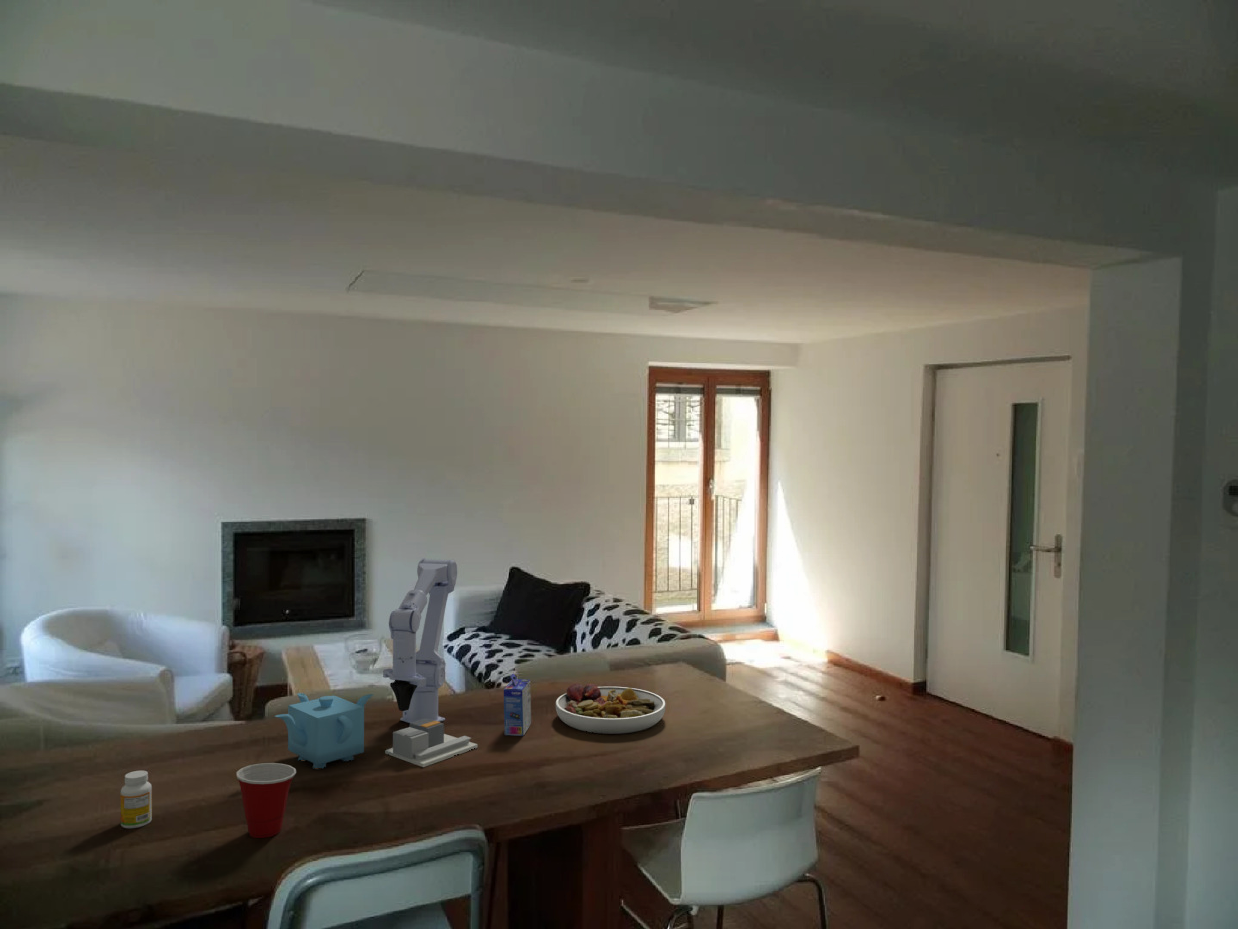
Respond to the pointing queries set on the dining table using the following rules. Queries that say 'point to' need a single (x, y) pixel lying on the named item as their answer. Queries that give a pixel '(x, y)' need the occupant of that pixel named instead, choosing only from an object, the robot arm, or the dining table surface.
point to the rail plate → (439, 756)
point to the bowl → (609, 709)
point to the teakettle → (325, 729)
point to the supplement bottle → (136, 800)
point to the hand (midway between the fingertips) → (403, 710)
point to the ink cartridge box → (517, 706)
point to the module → (430, 730)
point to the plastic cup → (265, 796)
